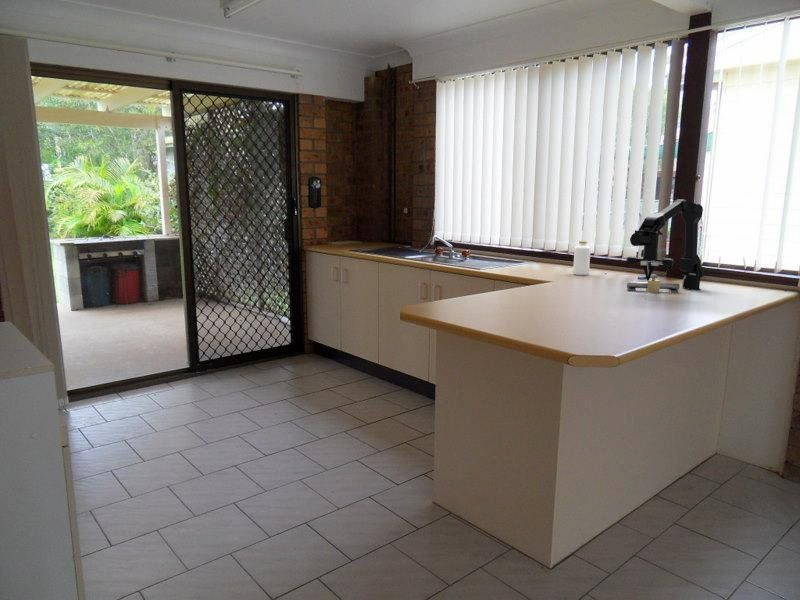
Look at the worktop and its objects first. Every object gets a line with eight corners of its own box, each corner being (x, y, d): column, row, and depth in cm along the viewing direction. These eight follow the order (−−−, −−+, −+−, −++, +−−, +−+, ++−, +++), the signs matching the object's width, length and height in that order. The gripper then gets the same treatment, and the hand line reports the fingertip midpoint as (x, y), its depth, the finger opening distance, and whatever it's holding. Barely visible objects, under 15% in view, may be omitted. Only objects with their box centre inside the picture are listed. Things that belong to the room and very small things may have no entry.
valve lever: (652, 276, 261) (652, 274, 261) (658, 277, 258) (658, 275, 258) (636, 279, 254) (636, 276, 253) (642, 280, 251) (643, 277, 251)
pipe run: (677, 291, 260) (678, 278, 259) (679, 293, 255) (680, 279, 254) (626, 289, 265) (627, 276, 264) (627, 291, 260) (628, 277, 259)
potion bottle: (586, 273, 313) (589, 240, 309) (590, 275, 304) (592, 242, 301) (571, 273, 313) (573, 240, 310) (574, 275, 305) (576, 242, 302)
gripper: (675, 245, 252) (672, 279, 255) (630, 243, 261) (628, 276, 264) (674, 247, 242) (670, 283, 245) (627, 244, 251) (624, 279, 254)
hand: (647, 280), depth 252 cm, fingers closed
